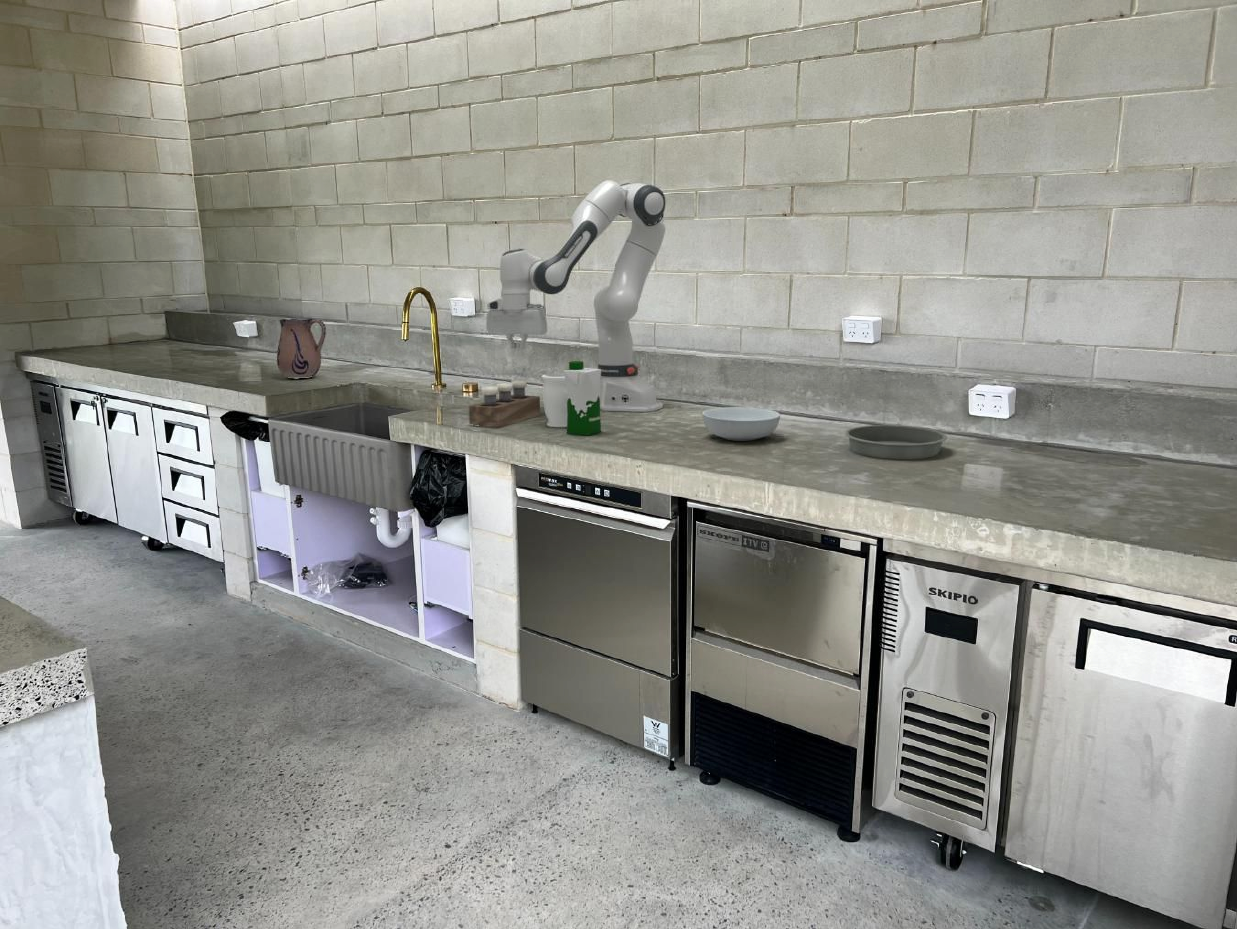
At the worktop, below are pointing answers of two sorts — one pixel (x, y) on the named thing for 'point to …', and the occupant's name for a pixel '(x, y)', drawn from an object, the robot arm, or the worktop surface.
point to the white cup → (555, 399)
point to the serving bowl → (741, 422)
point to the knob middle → (505, 392)
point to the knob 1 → (490, 395)
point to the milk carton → (583, 399)
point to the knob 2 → (519, 388)
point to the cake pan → (895, 441)
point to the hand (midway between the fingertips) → (517, 348)
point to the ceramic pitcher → (299, 348)
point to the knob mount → (505, 412)
